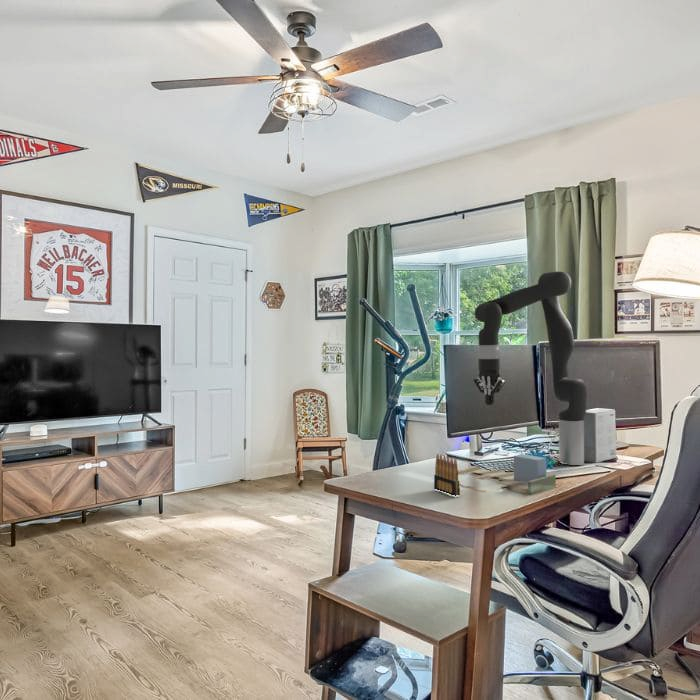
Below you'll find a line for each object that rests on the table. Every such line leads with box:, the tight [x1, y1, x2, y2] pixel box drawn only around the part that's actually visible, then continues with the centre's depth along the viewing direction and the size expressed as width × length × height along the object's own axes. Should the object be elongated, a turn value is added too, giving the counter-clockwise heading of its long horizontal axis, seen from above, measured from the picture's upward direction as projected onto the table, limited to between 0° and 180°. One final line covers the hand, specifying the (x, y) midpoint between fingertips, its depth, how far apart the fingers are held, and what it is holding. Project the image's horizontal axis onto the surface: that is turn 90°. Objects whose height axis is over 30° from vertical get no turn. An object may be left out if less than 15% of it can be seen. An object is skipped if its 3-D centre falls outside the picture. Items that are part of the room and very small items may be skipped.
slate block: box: [513, 453, 547, 483], centre depth 186 cm, size 9×5×8 cm, turn 39°
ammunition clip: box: [433, 453, 461, 496], centre depth 177 cm, size 11×2×12 cm, turn 29°
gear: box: [527, 448, 557, 470], centre depth 208 cm, size 11×6×10 cm
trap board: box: [458, 465, 557, 496], centre depth 193 cm, size 33×16×4 cm, turn 39°
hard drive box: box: [584, 407, 617, 464], centre depth 226 cm, size 16×8×20 cm, turn 126°
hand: (489, 404), depth 204 cm, fingers closed
